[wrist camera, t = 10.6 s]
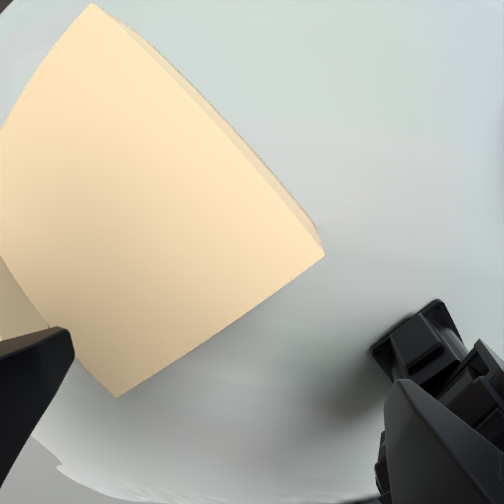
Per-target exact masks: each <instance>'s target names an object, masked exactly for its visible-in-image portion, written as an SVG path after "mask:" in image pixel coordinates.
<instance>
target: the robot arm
mask: <svg viewBox="0 0 504 504" xmlns="http://www.w3.org/2000/svg"><path fill="white" fill-rule="evenodd" d="M438 305H440V306H439V308H437V309H436V307H437V306H438ZM378 349H380V350H379V351H378V352H375V351H376V350H378ZM371 354H372V356H373V357H374V359H375V360H376V361H377V362H378V364H379V365H380V366H381V368H382V369H383V370H384V372H385V373H386V374H387V375H388V377H389V378H390V379H391V381H392V382H393V385H392V387H391V390H390V392H389V394H388V397H387V399H386V401H385V404H384V422H385V430H384V431H383V432H382V433H381V441H380V448H379V455H378V462H377V463H376V464H375V468H374V470H375V475H376V477H375V478H376V485H377V487H378V490H379V492H380V494H381V496H379V501H380V502H381V503H382V504H504V361H503V360H502V359H501V358H500V357H499V356H498V355H496V354H495V353H494V352H493V351H492V350H491V349H490V348H489V347H488V346H487V345H486V344H485V343H484V342H483V341H482V340H481V339H478V341H477V342H476V343H475V344H474V348H473V349H472V350H471V351H470V352H469V351H468V350H467V349H466V347H465V346H464V344H463V341H462V339H461V337H460V335H459V333H458V331H457V328H456V326H455V324H454V322H453V320H452V318H451V316H450V314H449V312H448V310H447V308H446V306H445V304H444V303H443V302H442V301H441V300H440V299H437V300H435V301H433V302H432V303H431V304H430V305H428V306H427V307H426V308H425V309H423V310H422V311H421V312H419V313H418V314H416V315H415V316H413V317H412V318H411V319H409V320H408V321H407V322H405V323H404V324H403V325H401V326H400V327H398V328H397V329H396V330H394V331H393V332H391V334H389V335H388V336H386V337H385V338H383V339H382V340H380V341H379V342H378V343H376V344H375V345H373V346H372V347H371ZM74 358H75V350H74V346H73V342H72V338H71V334H70V332H69V330H67V329H65V328H62V327H59V326H55V327H52V328H48V329H44V330H40V331H37V332H33V333H29V334H25V335H22V336H18V337H14V338H10V339H6V340H2V341H0V488H1V486H2V484H3V482H4V480H5V478H6V477H7V475H8V473H9V471H10V469H11V467H12V466H13V464H14V462H15V460H16V458H17V456H18V455H19V453H20V451H21V450H22V448H23V446H24V445H25V443H26V441H27V439H28V438H29V436H30V435H31V433H32V431H33V430H34V428H35V426H36V425H37V423H38V422H39V420H40V418H41V417H42V415H43V414H44V412H45V410H46V409H47V407H48V406H49V404H50V403H51V401H52V399H53V398H54V396H55V394H56V393H57V391H58V389H59V387H60V385H61V383H62V381H63V379H64V377H65V375H66V374H67V372H68V370H69V368H70V366H71V364H72V363H73V361H74Z"/></svg>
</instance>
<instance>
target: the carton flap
mask: <svg viewBox="0 0 504 504" xmlns="http://www.w3.org/2000/svg"><path fill="white" fill-rule="evenodd" d="M44 329H48V325H47V323H46V322H45V320H44V319H43V318H42V316H41V315H40V314H39V312H38V311H37V310H36V308H35V307H34V306H33V304H32V303H31V301H30V300H29V299H28V297H27V296H26V294H25V293H24V291H23V290H22V289H21V287H20V286H19V284H18V283H17V281H16V279H15V278H14V276H13V275H12V273H11V272H10V270H9V268H8V267H7V265H6V264H5V262H4V260H3V259H2V257H1V255H0V341H2V340H6V339H10V338H14V337H18V336H22V335H25V334H29V333H33V332H37V331H40V330H44Z"/></svg>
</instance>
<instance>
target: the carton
mask: <svg viewBox="0 0 504 504" xmlns="http://www.w3.org/2000/svg"><path fill="white" fill-rule="evenodd" d="M0 255H1V257H2V259H3V260H4V262H5V264H6V265H7V267H8V268H9V270H10V272H11V273H12V275H13V276H14V278H15V279H16V281H17V283H18V284H19V286H20V287H21V289H22V290H23V291H24V293H25V294H26V296H27V297H28V299H29V300H30V301H31V303H32V304H33V306H34V307H35V308H36V310H37V311H38V312H39V314H40V315H41V316H42V318H43V319H44V320H45V322H46V323H47V324H48V325H49V327H50V328H52V327H55V326H59V327H62V328H65V329H67V330H69V332H70V334H71V338H72V342H73V346H74V350H75V358H76V359H77V360H78V361H79V362H80V363H81V364H82V365H83V366H84V367H85V368H86V370H87V371H88V372H89V373H90V374H91V375H92V376H93V377H94V378H95V379H96V380H97V381H98V382H99V383H100V384H101V385H102V386H103V387H104V388H105V389H106V390H107V391H108V392H109V393H110V394H111V395H112V396H113V397H114V398H115V399H116V398H118V397H119V396H121V395H123V394H124V393H126V392H127V391H129V390H131V389H132V388H134V387H136V386H137V385H139V384H140V383H142V382H143V381H145V380H147V379H148V378H150V377H151V376H153V375H154V374H156V373H158V372H159V371H161V370H162V369H164V368H165V367H167V366H168V365H170V364H172V363H173V362H175V361H176V360H178V359H179V358H181V357H182V356H184V355H185V354H187V353H188V352H190V351H191V350H193V349H194V348H196V347H197V346H199V345H200V344H202V343H203V342H205V341H206V340H208V339H209V338H211V337H212V336H214V335H215V334H217V333H218V332H219V331H221V330H222V329H224V328H225V327H227V326H228V325H230V324H231V323H233V322H234V321H235V320H237V319H238V318H240V317H241V316H243V315H244V314H245V313H247V312H248V311H250V310H251V309H253V308H254V307H255V306H257V305H258V304H260V303H261V302H262V301H264V300H265V299H267V298H268V297H269V296H271V295H272V294H274V293H275V292H276V291H278V290H279V289H280V288H282V287H283V286H285V285H286V284H287V283H289V282H290V281H291V280H293V279H294V278H296V277H297V276H298V275H300V274H301V273H302V272H304V271H305V270H306V269H308V268H309V267H310V266H312V265H313V264H314V263H316V262H317V261H318V260H320V259H321V258H322V257H324V256H325V253H324V250H323V247H322V244H321V241H320V238H319V235H318V232H317V229H316V226H315V224H314V223H313V222H312V220H311V219H310V218H309V217H308V215H307V214H306V213H305V212H304V210H303V209H302V208H301V207H300V206H299V204H298V203H297V202H296V201H295V199H294V198H293V197H292V196H291V195H290V193H289V192H288V191H287V190H286V189H285V187H284V186H283V185H282V184H281V183H280V181H279V180H278V179H277V178H276V177H275V175H274V174H273V173H272V172H271V171H270V170H269V168H268V167H267V166H266V165H265V164H264V163H263V162H262V160H261V159H260V158H259V157H258V156H257V155H256V153H255V152H254V151H253V150H252V149H251V148H250V147H249V146H248V144H247V143H246V142H245V141H244V140H243V139H242V138H241V137H240V135H239V134H238V133H237V132H236V131H235V130H234V129H233V128H232V127H231V126H230V124H229V123H228V122H227V121H226V120H225V119H224V118H223V117H222V116H221V115H220V114H219V113H218V112H217V110H216V109H215V108H214V107H213V106H212V105H211V104H210V103H209V102H208V101H207V100H206V99H205V98H204V97H203V96H202V95H201V94H200V93H199V92H198V91H197V89H196V88H195V87H194V86H193V85H192V84H191V83H190V82H189V81H188V80H187V79H186V78H185V77H184V76H183V75H182V74H181V73H180V72H179V71H178V70H177V69H176V68H175V67H174V66H173V65H172V64H171V63H170V62H169V61H168V60H167V59H166V58H165V57H164V56H162V55H161V54H160V53H159V52H158V51H157V50H156V49H155V48H154V47H153V46H152V45H151V44H150V43H149V42H148V41H147V40H146V39H145V38H144V37H142V36H141V35H140V34H138V33H137V32H136V31H134V30H133V29H131V28H130V27H128V26H127V25H125V24H124V23H123V22H121V21H120V20H118V19H117V18H115V17H114V16H112V15H111V14H109V13H107V12H106V11H104V10H103V9H101V8H100V7H98V6H97V5H95V4H93V3H91V4H90V5H89V6H88V7H87V8H86V9H85V10H84V11H83V12H82V13H81V14H80V16H79V17H78V18H77V19H76V20H75V21H74V22H73V23H72V25H71V26H70V27H69V28H68V29H67V30H66V32H65V33H64V34H63V35H62V37H61V38H60V39H59V40H58V41H57V43H56V44H55V45H54V47H53V48H52V49H51V51H50V52H49V53H48V55H47V56H46V57H45V59H44V60H43V61H42V63H41V64H40V66H39V67H38V68H37V70H36V71H35V73H34V74H33V76H32V77H31V79H30V80H29V82H28V84H27V85H26V87H25V88H24V90H23V91H22V93H21V95H20V96H19V98H18V100H17V101H16V103H15V105H14V107H13V108H12V110H11V112H10V114H9V116H8V117H7V119H6V121H5V123H4V125H3V127H2V129H1V131H0Z"/></svg>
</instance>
